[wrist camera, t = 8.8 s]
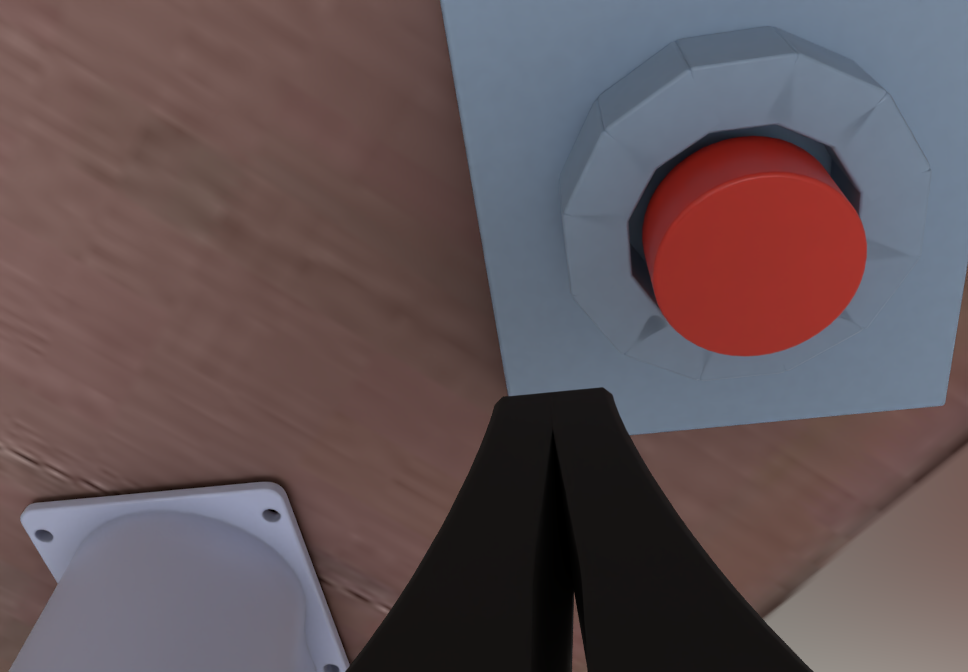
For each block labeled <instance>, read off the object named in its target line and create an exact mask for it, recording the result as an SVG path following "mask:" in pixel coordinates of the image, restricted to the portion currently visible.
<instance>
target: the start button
mask: <svg viewBox="0 0 968 672" xmlns="http://www.w3.org/2000/svg"><path fill="white" fill-rule="evenodd" d="M642 243H643V250H644V254H645V258H646V262H647V266H648V270H649V274H650V278H651V282H652V286H653V290H654V294H655V298H656V301H657V304H658V306H659V308H660V310H661V312H662V314H663V316H664V317H665V319H666V320H667V322H668V323H669V324H670V325H671V326H672V327H673V328H674V329H675V331H676V332H678V333H679V334H680V335H681V336H683V337H684V338H685V339H687V340H688V341H690V342H692V343H693V344H695V345H697V346H699V347H701V348H704V349H706V350H708V351H712V352H715V353H719V354H724V355H730V356H744V357H745V356H760V355H766V354H772V353H776V352H780V351H783V350H786V349H789V348H791V347H794V346H797V345H799V344H801V343H803V342H805V341H807V340H809V339H810V338H812V337H814V336H815V335H817V334H818V333H820V332H821V331H823V330H824V329H825V328H826V327H828V326H829V325H830V324H831V323H832V322H833V321H834V320H835V319H836V318H837V317H838V316H840V314H841V313H842V312H843V311H844V310H845V308H846V307H847V306H848V305H849V303H850V301H851V300H852V298H853V297H854V295H855V293H856V291H857V289H858V287H859V285H860V283H861V280H862V277H863V274H864V270H865V265H866V259H867V241H866V235H865V230H864V227H863V224H862V221H861V219H860V217H859V215H858V213H857V211H856V210H855V208H854V207H853V206H852V204H851V203H850V202H849V200H848V199H847V198H846V196H845V195H844V194H843V192H842V191H841V190H840V188H839V187H838V186H837V184H836V183H835V182H834V180H833V179H832V178H831V176H830V175H829V174H828V172H827V171H826V170H825V168H824V167H823V166H822V164H821V163H820V162H819V161H818V160H817V159H816V158H815V157H814V156H813V155H811V154H810V153H808V152H807V151H805V150H804V149H802V148H800V147H798V146H796V145H794V144H792V143H790V142H787V141H784V140H781V139H777V138H771V137H764V136H744V137H736V138H731V139H726V140H722V141H719V142H716V143H713V144H711V145H708V146H706V147H704V148H702V149H700V150H698V151H696V152H694V153H693V154H691V155H689V156H688V157H687V158H685V159H684V160H683V161H681V162H680V163H679V164H677V165H676V166H675V167H674V168H673V169H672V170H671V171H670V172H669V173H668V174H667V175H666V177H665V178H664V179H663V180H662V181H661V183H660V184H659V186H658V187H657V189H656V190H655V192H654V194H653V195H652V197H651V200H650V202H649V204H648V206H647V209H646V213H645V216H644V221H643V227H642Z"/></svg>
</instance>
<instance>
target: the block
mask: <svg viewBox="0 0 968 672" xmlns="http://www.w3.org/2000/svg"><path fill="white" fill-rule="evenodd" d="M440 4H441V10H442V15H443V21H444V27H445V33H446V39H447V44H448V50H449V56H450V62H451V68H452V73H453V79H454V85H455V91H456V96H457V102H458V108H459V114H460V120H461V125H462V131H463V137H464V143H465V149H466V154H467V160H468V166H469V172H470V178H471V183H472V189H473V195H474V201H475V206H476V212H477V218H478V224H479V230H480V235H481V241H482V247H483V253H484V259H485V264H486V270H487V276H488V282H489V287H490V293H491V299H492V305H493V311H494V316H495V322H496V328H497V334H498V340H499V345H500V351H501V357H502V363H503V369H504V374H505V380H506V386H507V392H508V396H516V395H527V394H537V393H547V392H558V391H568V390H578V389H589V388H599V387H603V388H605V389H606V390H607V391H609V392H610V393H611V394H613V398H614V401H615V404H616V407H617V409H618V412H619V414H620V417H621V419H622V421H623V423H624V426H625V428H626V430H627V432H628V434H629V435H638V434H648V433H659V432H670V431H680V430H691V429H701V428H712V427H722V426H733V425H743V424H754V423H764V422H775V421H786V420H796V419H807V418H817V417H828V416H838V415H849V414H859V413H870V412H881V411H891V410H902V409H912V408H923V407H933V406H942V405H944V404H945V400H946V394H947V388H948V381H949V375H950V369H951V363H952V357H953V351H954V344H955V338H956V332H957V326H958V320H959V313H960V307H961V301H962V295H963V289H964V283H965V276H966V270H967V264H968V0H440ZM744 136H764V137H771V138H777V139H781V140H784V141H787V142H790V143H792V144H794V145H796V146H798V147H800V148H802V149H804V150H805V151H807V152H808V153H810V154H811V155H813V156H814V157H815V158H816V159H817V160H818V161H819V162H820V163H821V164H822V166H823V167H824V168H825V170H826V171H827V172H828V174H829V175H830V176H831V178H832V179H833V180H834V182H835V183H836V184H837V186H838V187H839V188H840V190H841V191H842V192H843V194H844V195H845V196H846V198H847V199H848V200H849V202H850V203H851V204H852V206H853V207H854V208H855V210H856V211H857V213H858V215H859V217H860V219H861V221H862V224H863V227H864V230H865V235H866V241H867V259H866V265H865V270H864V274H863V277H862V280H861V283H860V285H859V287H858V289H857V291H856V293H855V295H854V297H853V298H852V300H851V301H850V303H849V305H848V306H847V307H846V308H845V310H844V311H843V312H842V313H841V314H840V316H838V317H837V318H836V319H835V320H834V321H833V322H832V323H831V324H830V325H829V326H828V327H826V328H825V329H824V330H823V331H821V332H820V333H818V334H817V335H815V336H814V337H812V338H810V339H809V340H807V341H805V342H803V343H801V344H799V345H797V346H794V347H791V348H789V349H786V350H783V351H780V352H776V353H772V354H766V355H760V356H745V357H744V356H730V355H724V354H719V353H715V352H712V351H708V350H706V349H704V348H701V347H699V346H697V345H695V344H693V343H692V342H690V341H688V340H687V339H685V338H684V337H683V336H681V335H680V334H679V333H678V332H676V331H675V329H674V328H673V327H672V326H671V325H670V324H669V323H668V322H667V320H666V319H665V317H664V316H663V314H662V312H661V310H660V308H659V306H658V304H657V301H656V298H655V294H654V290H653V286H652V282H651V278H650V274H649V270H648V266H647V262H646V258H645V254H644V250H643V243H642V227H643V221H644V216H645V213H646V209H647V206H648V204H649V202H650V200H651V197H652V195H653V194H654V192H655V190H656V189H657V187H658V186H659V184H660V183H661V181H662V180H663V179H664V178H665V177H666V175H667V174H668V173H669V172H670V171H671V170H672V169H673V168H674V167H675V166H676V165H677V164H679V163H680V162H681V161H683V160H684V159H685V158H687V157H688V156H689V155H691V154H693V153H694V152H696V151H698V150H700V149H702V148H704V147H706V146H708V145H711V144H713V143H716V142H719V141H722V140H726V139H731V138H736V137H744Z"/></svg>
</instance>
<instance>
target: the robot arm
mask: <svg viewBox="0 0 968 672" xmlns="http://www.w3.org/2000/svg"><path fill="white" fill-rule="evenodd" d="M268 509H274V510H276V511H278V513H276V512H271V511H269V510H268ZM20 520H21V523H22V525H23V527H24V528H25V530H26V532H27V533H28V535H29V537H30V538H31V540H32V542H33V543H34V545H35V547H36V548H37V550H38V552H39V553H40V555H41V557H42V558H43V560H44V562H45V563H46V565H47V567H48V568H49V570H50V572H51V573H52V575H53V576H54V578H55V580H56V581H57V583H58V585H57V586H56V588H55V590H54V592H53V594H52V595H51V597H50V599H49V601H48V602H47V604H46V606H45V608H44V609H43V611H42V613H41V615H40V617H39V618H38V620H37V622H36V624H35V625H34V627H33V629H32V631H31V632H30V634H29V636H28V638H27V640H26V641H25V643H24V645H23V647H22V648H21V650H20V652H19V654H18V655H17V657H16V659H15V661H14V663H13V664H12V666H11V668H10V670H9V671H8V672H572V649H573V609H574V593H575V599H576V605H577V611H578V616H579V622H580V628H581V633H582V639H583V645H584V651H585V656H586V662H587V668H588V672H813V671H812V670H811V669H810V668H809V667H808V666H807V665H806V664H805V663H804V662H803V661H802V660H801V659H800V658H799V657H798V656H797V655H796V654H795V653H794V652H793V651H792V650H791V648H790V647H789V646H788V645H787V644H786V643H785V642H784V641H783V640H782V639H781V638H780V637H779V636H778V635H777V634H776V633H775V632H774V631H773V630H772V629H771V628H770V627H769V626H768V625H767V623H766V622H765V621H764V620H763V619H762V618H761V617H760V616H759V614H758V613H757V612H756V611H755V610H754V609H753V608H752V607H751V606H750V604H749V603H748V602H747V601H746V600H745V599H744V598H743V597H742V595H741V594H740V593H739V592H738V591H737V590H736V588H735V587H734V586H733V585H732V584H731V583H730V581H729V580H728V579H727V578H726V577H725V575H724V574H723V573H722V572H721V570H720V569H719V568H718V567H717V565H716V564H715V563H714V562H713V561H712V559H711V558H710V557H709V555H708V554H707V553H706V551H705V550H704V549H703V547H702V546H701V545H700V544H699V542H698V541H697V540H696V538H695V537H694V536H693V534H692V533H691V532H690V530H689V529H688V528H687V526H686V525H685V523H684V522H683V521H682V519H681V518H680V516H679V515H678V514H677V512H676V511H675V509H674V508H673V506H672V505H671V503H670V502H669V500H668V499H667V497H666V496H665V494H664V493H663V491H662V490H661V488H660V486H659V485H658V483H657V482H656V480H655V479H654V477H653V476H652V474H651V473H650V471H649V469H648V468H647V466H646V464H645V463H644V461H643V459H642V458H641V456H640V454H639V452H638V450H637V449H636V447H635V445H634V443H633V441H632V439H631V438H630V436H629V434H628V432H627V430H626V428H625V426H624V423H623V421H622V419H621V417H620V414H619V412H618V409H617V407H616V404H615V401H614V398H613V394H611V393H610V392H609V391H607V390H606V389H605V388H603V387H599V388H589V389H578V390H568V391H558V392H547V393H537V394H527V395H516V396H506V397H502V398H501V399H500V400H499V401H498V402H497V403H496V404H495V406H494V409H493V413H492V416H491V419H490V422H489V425H488V428H487V430H486V433H485V436H484V438H483V441H482V443H481V446H480V448H479V451H478V453H477V455H476V457H475V460H474V462H473V464H472V466H471V469H470V471H469V473H468V475H467V477H466V479H465V481H464V483H463V485H462V487H461V489H460V491H459V493H458V495H457V498H456V500H455V502H454V504H453V506H452V508H451V510H450V512H449V514H448V516H447V517H446V519H445V521H444V523H443V525H442V527H441V529H440V530H439V532H438V534H437V535H436V537H435V539H434V541H433V542H432V544H431V546H430V547H429V549H428V551H427V553H426V554H425V556H424V558H423V559H422V561H421V563H420V565H419V566H418V568H417V570H416V571H415V573H414V575H413V576H412V578H411V580H410V581H409V583H408V584H407V586H406V587H405V589H404V591H403V592H402V594H401V595H400V597H399V598H398V600H397V601H396V603H395V604H394V606H393V607H392V609H391V610H390V612H389V613H388V615H387V616H386V618H385V619H384V620H383V622H382V623H381V625H380V626H379V627H378V629H377V630H376V632H375V633H374V634H373V636H372V637H371V639H370V640H369V641H368V643H367V644H366V646H365V647H364V648H363V650H362V651H361V652H360V653H359V655H358V656H357V657H356V659H355V660H354V661H353V662H352V664H351V665H350V664H349V662H348V659H347V656H346V653H345V651H344V648H343V645H342V643H341V640H340V637H339V635H338V632H337V629H336V626H335V624H334V621H333V618H332V616H331V613H330V610H329V607H328V605H327V602H326V599H325V597H324V594H323V591H322V589H321V586H320V583H319V580H318V578H317V575H316V572H315V570H314V567H313V564H312V562H311V559H310V556H309V553H308V551H307V548H306V545H305V543H304V540H303V537H302V534H301V532H300V529H299V526H298V524H297V521H296V518H295V516H294V513H293V510H292V507H291V505H290V502H289V499H288V497H287V494H286V492H285V490H284V489H283V488H282V487H281V486H280V485H278V484H276V483H273V482H254V483H243V484H232V485H222V486H211V487H200V488H190V489H179V490H168V491H157V492H147V493H136V494H125V495H114V496H104V497H93V498H82V499H72V500H61V501H50V502H39V503H33V504H30V505H28V506H27V507H26V508H25V510H24V511H23V513H22V514H21V518H20Z"/></svg>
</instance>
